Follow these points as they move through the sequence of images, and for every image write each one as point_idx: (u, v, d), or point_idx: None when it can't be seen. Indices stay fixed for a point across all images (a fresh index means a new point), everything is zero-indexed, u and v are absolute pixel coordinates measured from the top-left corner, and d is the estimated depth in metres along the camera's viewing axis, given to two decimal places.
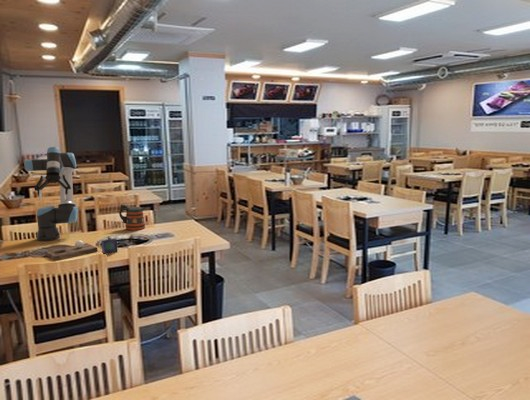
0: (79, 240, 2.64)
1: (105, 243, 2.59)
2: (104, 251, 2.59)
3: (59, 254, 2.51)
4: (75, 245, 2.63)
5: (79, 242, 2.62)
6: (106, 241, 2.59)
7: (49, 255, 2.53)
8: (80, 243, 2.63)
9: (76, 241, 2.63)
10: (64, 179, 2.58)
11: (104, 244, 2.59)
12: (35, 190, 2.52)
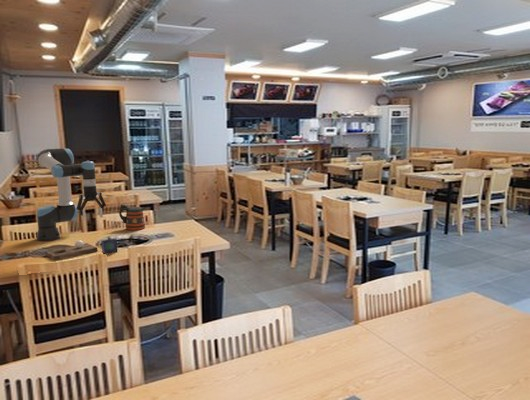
0: (79, 240, 2.64)
1: (105, 243, 2.59)
2: (104, 251, 2.59)
3: (59, 254, 2.51)
4: (75, 245, 2.63)
5: (79, 242, 2.62)
6: (106, 241, 2.59)
7: (49, 255, 2.53)
8: (80, 243, 2.63)
9: (76, 241, 2.63)
10: (101, 197, 2.70)
11: (104, 244, 2.59)
12: (77, 209, 2.62)
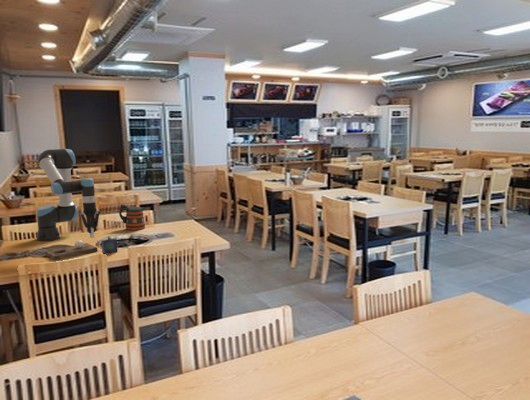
0: (79, 240, 2.64)
1: (105, 243, 2.59)
2: (104, 251, 2.59)
3: (59, 254, 2.51)
4: (75, 245, 2.63)
5: (79, 242, 2.62)
6: (106, 241, 2.59)
7: (49, 255, 2.53)
8: (80, 243, 2.63)
9: (76, 241, 2.63)
10: (97, 216, 2.70)
11: (104, 244, 2.59)
12: None
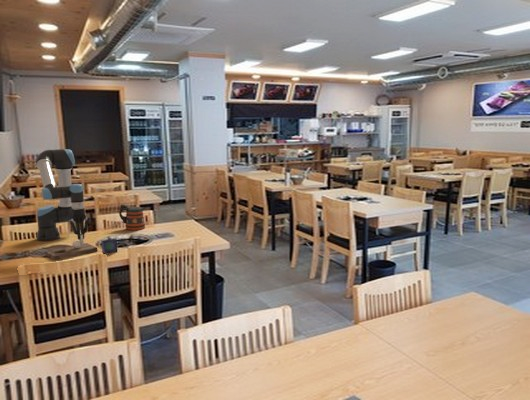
0: (74, 242, 2.61)
1: (105, 243, 2.59)
2: (104, 251, 2.59)
3: (59, 254, 2.51)
4: (73, 247, 2.62)
5: (75, 244, 2.61)
6: (106, 241, 2.59)
7: (49, 255, 2.53)
8: (77, 244, 2.61)
9: (72, 244, 2.61)
10: (87, 222, 2.65)
11: (104, 244, 2.59)
12: None
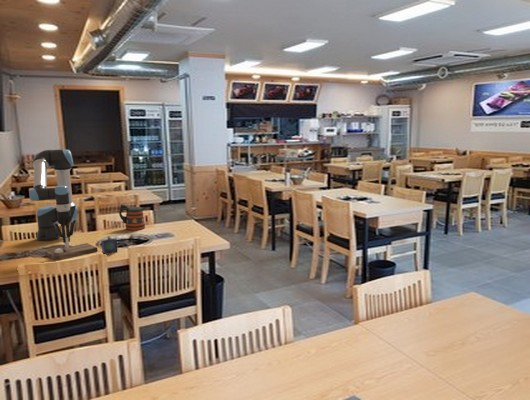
0: (63, 251, 2.57)
1: (105, 243, 2.59)
2: (104, 251, 2.59)
3: (59, 254, 2.51)
4: None
5: (62, 251, 2.55)
6: (106, 241, 2.59)
7: (49, 255, 2.53)
8: (61, 252, 2.54)
9: None
10: (72, 225, 2.59)
11: (104, 244, 2.59)
12: (59, 236, 2.56)
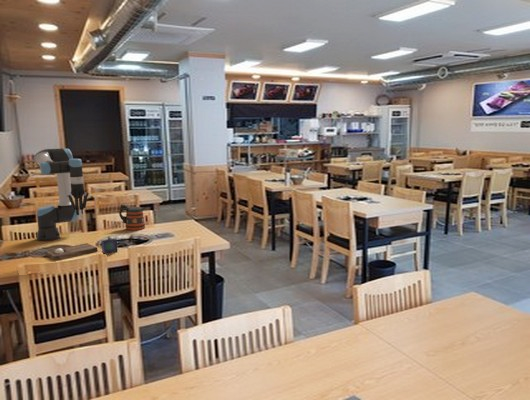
0: (63, 251, 2.57)
1: (105, 243, 2.59)
2: (104, 251, 2.59)
3: (59, 254, 2.51)
4: None
5: (62, 251, 2.55)
6: (106, 241, 2.59)
7: (49, 255, 2.53)
8: (61, 252, 2.55)
9: (61, 249, 2.57)
10: (85, 198, 2.64)
11: (104, 244, 2.59)
12: (73, 209, 2.61)
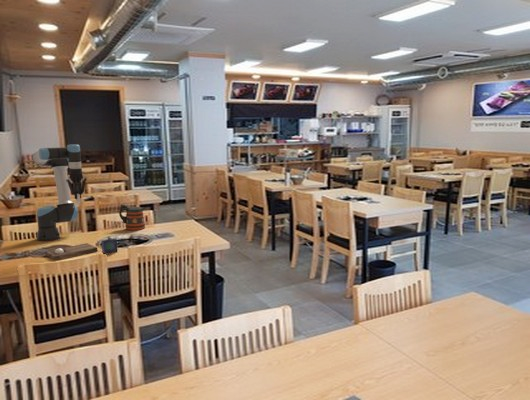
0: (63, 251, 2.57)
1: (105, 243, 2.59)
2: (104, 251, 2.59)
3: (59, 254, 2.51)
4: (58, 248, 2.55)
5: (62, 251, 2.55)
6: (106, 241, 2.59)
7: (49, 255, 2.53)
8: (61, 252, 2.55)
9: (62, 249, 2.57)
10: (84, 182, 2.72)
11: (104, 244, 2.59)
12: None
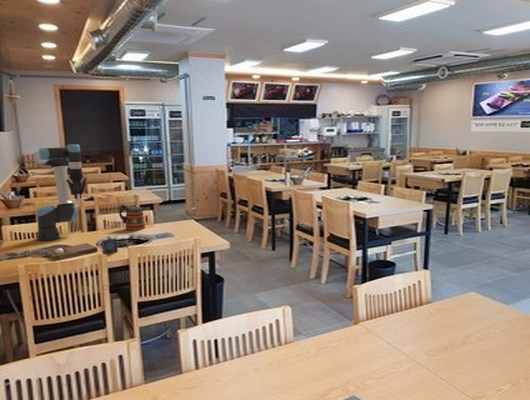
0: (63, 251, 2.57)
1: (105, 243, 2.59)
2: (104, 251, 2.59)
3: (59, 254, 2.51)
4: (58, 248, 2.55)
5: (62, 251, 2.55)
6: (106, 241, 2.59)
7: (49, 255, 2.53)
8: (61, 252, 2.55)
9: (62, 249, 2.57)
10: (84, 182, 2.72)
11: (104, 244, 2.59)
12: None
